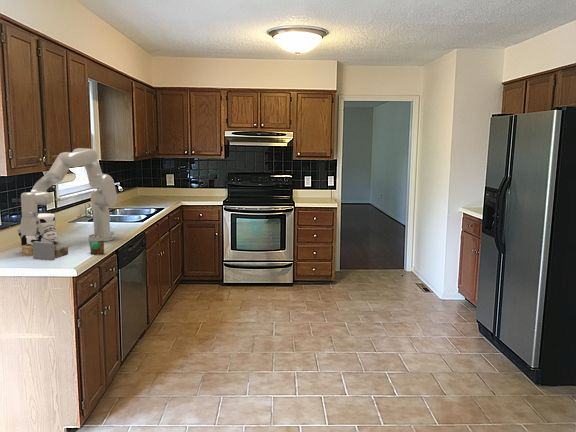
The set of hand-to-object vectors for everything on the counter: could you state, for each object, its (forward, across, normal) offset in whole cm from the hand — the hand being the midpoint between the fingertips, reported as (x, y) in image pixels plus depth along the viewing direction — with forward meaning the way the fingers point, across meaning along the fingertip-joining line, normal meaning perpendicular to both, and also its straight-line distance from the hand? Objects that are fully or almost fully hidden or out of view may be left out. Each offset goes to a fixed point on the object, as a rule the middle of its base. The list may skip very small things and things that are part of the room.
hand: (31, 245), depth 261 cm
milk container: (+5, +13, -22) cm, 26 cm away
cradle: (+5, -14, -3) cm, 15 cm away
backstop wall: (+5, -14, +6) cm, 16 cm away
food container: (+5, -31, -13) cm, 34 cm away
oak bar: (+5, 0, -1) cm, 5 cm away
